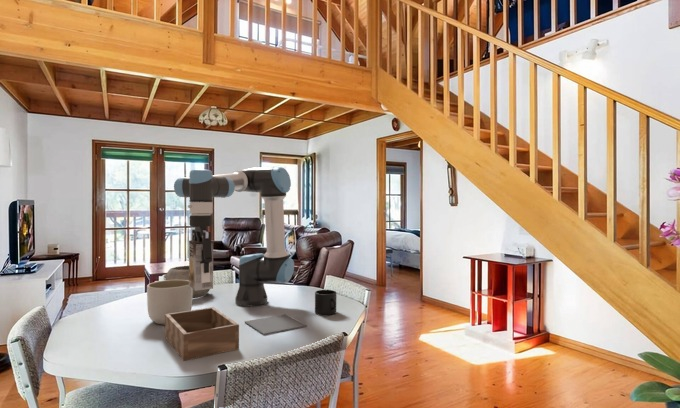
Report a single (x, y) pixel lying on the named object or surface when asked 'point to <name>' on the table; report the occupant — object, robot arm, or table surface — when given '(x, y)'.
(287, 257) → the robot arm
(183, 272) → the bowl
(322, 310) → the mug
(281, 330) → the mat
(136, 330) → the table surface
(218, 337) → the crate
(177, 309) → the planter
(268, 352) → the table surface
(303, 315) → the table surface
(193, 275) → the coffee box
